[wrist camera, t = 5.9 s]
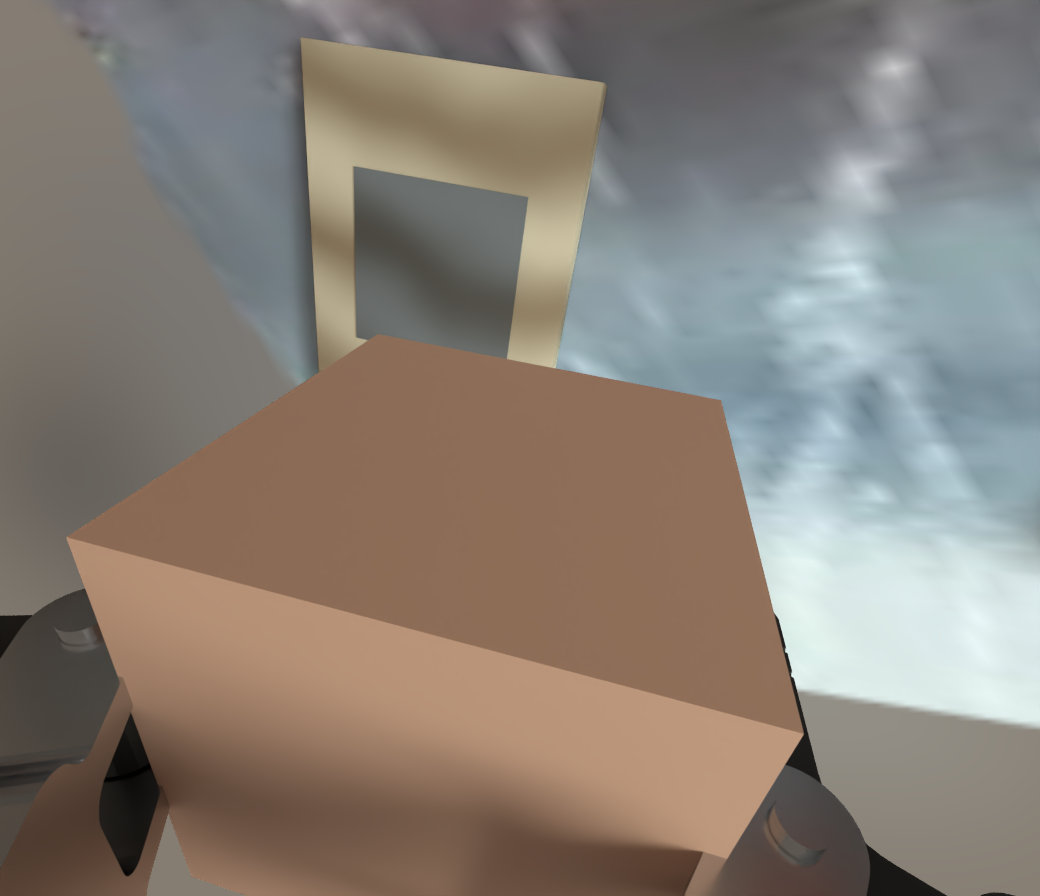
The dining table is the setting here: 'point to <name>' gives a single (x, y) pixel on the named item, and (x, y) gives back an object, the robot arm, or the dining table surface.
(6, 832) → the robot arm
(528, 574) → the terracotta cube
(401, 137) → the beige rectangular frame
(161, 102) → the dining table surface
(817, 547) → the dining table surface
